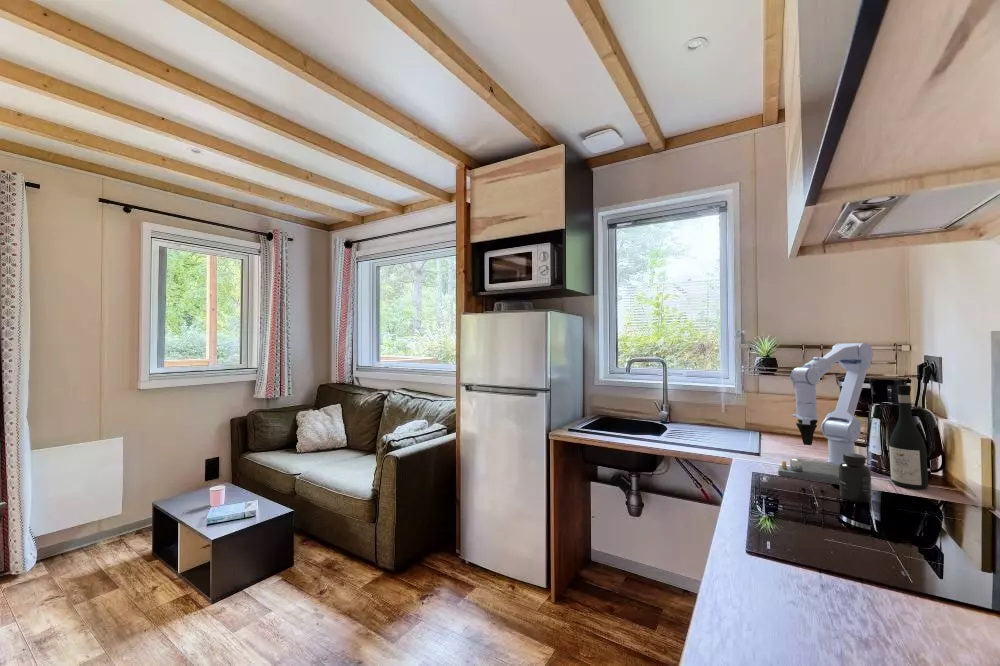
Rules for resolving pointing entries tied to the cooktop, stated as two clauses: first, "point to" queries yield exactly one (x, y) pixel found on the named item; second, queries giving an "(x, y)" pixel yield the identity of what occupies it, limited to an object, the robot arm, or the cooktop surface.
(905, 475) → the wine bottle
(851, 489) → the supplement bottle
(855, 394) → the robot arm
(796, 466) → the grey long block
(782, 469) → the tool board
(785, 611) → the cooktop surface
